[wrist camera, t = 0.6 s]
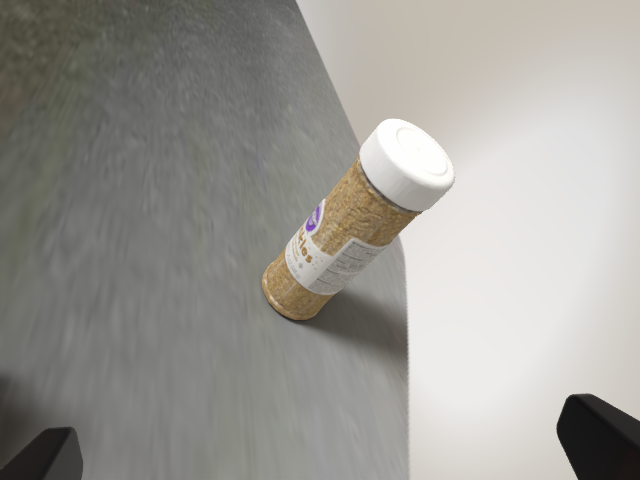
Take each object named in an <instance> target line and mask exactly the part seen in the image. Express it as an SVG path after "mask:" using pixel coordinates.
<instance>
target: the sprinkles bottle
mask: <svg viewBox="0 0 640 480" xmlns="http://www.w3.org/2000/svg"><path fill="white" fill-rule="evenodd" d="M454 180H455V172H454V168H453V166H452V163H451V161H450V159H449V157H448V156H447V154H446V153H445V151H444V150H443V149H442V148H441V147H440V145H438V143H437V142H436V141H435V140H434V139H433V138H432V137H430V136H429V135H428V134H427V133H425V132H424V131H423V130H421V129H420V128H418V127H416V126H415V125H413V124H411V123H408V122H406V121H403V120H399V119H388V120H385V121H383V122H382V123H381V124H380V125H379V126H378V127H377V128H376V129H375V130H374V131H373V133H372V134H371V135H370V136H369V138H368V139H367V140H366V141H365V143H364V144H363V145H362V147H361V149H360V154H358V157H357V160H356V161H355V162H354V163H353V165H352V166H351V167H350V168H349V170H348V171H347V172H346V174H345V175H344V176H343V177H342V178H341V180H340V181H339V182H338V183H337V185H336V186H335V187H334V189H333V190H332V191H331V192H330V194H329V195H328V196H327V197H326V198H324V199H323V201H322V202H321V203H320V204H319V206H318V207H317V208H316V209H315V211H314V212H313V213H312V214H311V215H310V217H309V218H308V219H307V220H306V222H305V223H304V224H303V225H302V227H301V228H300V229H299V230H298V231H297V233H296V234H295V235H294V236H293V238H292V239H291V240H290V241H289V243H288V245H287V246H286V248H285V249H284V251H283V252H282V253H281V254H280V255H279V256H278V258H277V259H276V260H275V261H274V262H272V263H271V264H270V265H269V266H268V267H267V269H266V271H265V272H264V274H263V279H262V287H263V291H264V294H265V296H266V298H267V300H268V302H269V303H270V305H272V306H273V307H274V309H275V310H276V311H278V312H279V313H281V314H282V315H284V316H286V317H289V318H291V319H293V320H306V319H310V318H312V317H314V316H315V315H316V314H317V313H318V312H319V311H320V310H321V308H322V306H323V305H324V304H325V303H326V302H327V301H328V300H329V299H330V298H331V297H332V296H334V295H335V294H336V293H337V292H339V291H340V290H342V289H343V288H344V287H345V286H346V285H347V284H348V283H349V282H350V281H351V280H352V279H353V278H354V277H355V276H356V275H357V274H358V273H359V272H360V271H362V270H363V269H364V268H365V267H366V266H367V265H368V264H369V263H370V262H371V261H372V260H373V259H374V258H375V257H376V256H377V255H378V254H379V253H380V252H382V251H383V250H384V249H385V248H386V247H387V246H388V245H389V244H390V243H391V241H392V240H393V238H395V237H396V236H397V235H398V234H399V233H400V231H402V229H404V228H405V227H406V226H407V225H408V224H409V223H410V222H411V221H412V220H413V219H414V218H415V216H417V215H419V214H421V213H422V212H423V211H425V210H427V209H429V208H430V207H432V206H433V205H434V204H435V203H436V202H437V201H438V200H439V199H440V198H441V197H442V196H443V195H444V194H445V193H446V192H447V191H448V190H449V189H450V188H451V187H452V185H453V183H454Z"/></svg>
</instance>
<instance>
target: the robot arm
mask: <svg viewBox="0 0 640 480" xmlns="http://www.w3.org/2000/svg"><path fill="white" fill-rule="evenodd" d="M556 429H557V435H558V438H559V440H560V443H561V445H562V447H563V449H564V451H565V453H566V455H567V457H568V459H569V462H570V464H571V466H572V468H573V470H574V472H575V474H576V476H577V478H578V480H640V421H639V420H637V419H635V418H633V417H632V416H630V415H628V414H626V413H625V412H623V411H621V410H619V409H618V408H616V407H614V406H612V405H610V404H609V403H606V402H605V401H603V400H602V399H600V398H598V397H596V396H594V395H592V394H573V395H570V396H569V397H568V398H567V399H566V401H565V404H564V406H563V409H562V412H561V414H560V417H559V420H558V423H557V428H556ZM82 472H83V459H82V455H81V451H80V446H79V442H78V437H77V433H76V431H75V429H74V428H73V427H57V428H48V429H46V430H44V431H43V432H41V433H40V434H39V435H38V436H37V437H36V438H35V439H34V440H32V441H31V442H30V443H29V444H28V445H27V446H26V447H25V448H23V449H22V450H21V451H20V452H19V453H18V454H17V455H16V456H15V457H13V458H12V459H11V460H10V461H9V462H8V463H7V464H6V465H4V466H3V467H2V468H1V469H0V480H81V478H82Z"/></svg>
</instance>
